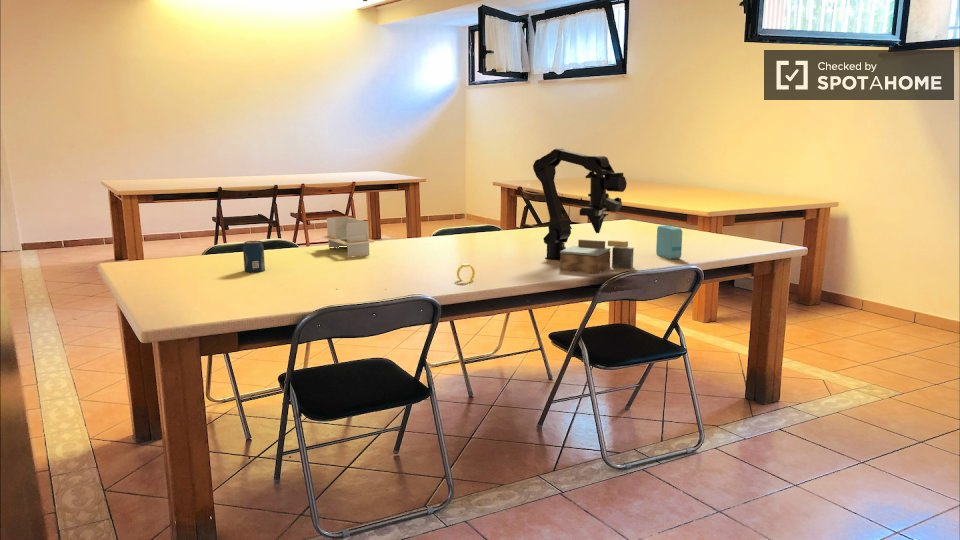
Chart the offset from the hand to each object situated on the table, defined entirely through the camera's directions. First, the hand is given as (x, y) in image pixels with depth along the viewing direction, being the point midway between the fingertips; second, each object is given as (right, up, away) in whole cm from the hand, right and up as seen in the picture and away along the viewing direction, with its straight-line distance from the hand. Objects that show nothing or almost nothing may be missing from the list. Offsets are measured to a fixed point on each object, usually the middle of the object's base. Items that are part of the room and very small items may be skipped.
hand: (597, 233), depth 268 cm
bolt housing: (+9, -13, -1) cm, 16 cm away
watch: (-48, -18, -25) cm, 57 cm away
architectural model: (-97, -8, +29) cm, 102 cm away
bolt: (+7, -5, -1) cm, 9 cm away
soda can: (-123, -16, -12) cm, 125 cm away
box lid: (-5, -7, -5) cm, 10 cm away
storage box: (-5, -13, -4) cm, 15 cm away
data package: (+31, -9, +20) cm, 38 cm away
